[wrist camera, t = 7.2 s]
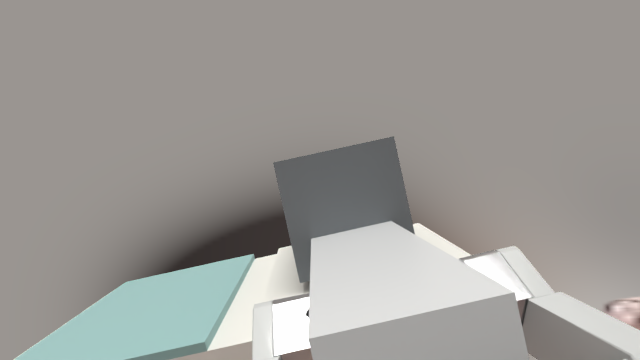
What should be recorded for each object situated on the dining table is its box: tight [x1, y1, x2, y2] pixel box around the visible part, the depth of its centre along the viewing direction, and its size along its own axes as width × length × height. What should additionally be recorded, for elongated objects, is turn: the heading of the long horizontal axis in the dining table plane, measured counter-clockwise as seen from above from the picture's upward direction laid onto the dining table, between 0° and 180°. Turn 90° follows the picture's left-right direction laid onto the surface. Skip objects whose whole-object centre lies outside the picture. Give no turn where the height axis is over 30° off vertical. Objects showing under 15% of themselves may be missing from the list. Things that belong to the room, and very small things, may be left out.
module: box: [274, 137, 529, 360], centre depth 18 cm, size 22×6×6 cm, turn 2°
